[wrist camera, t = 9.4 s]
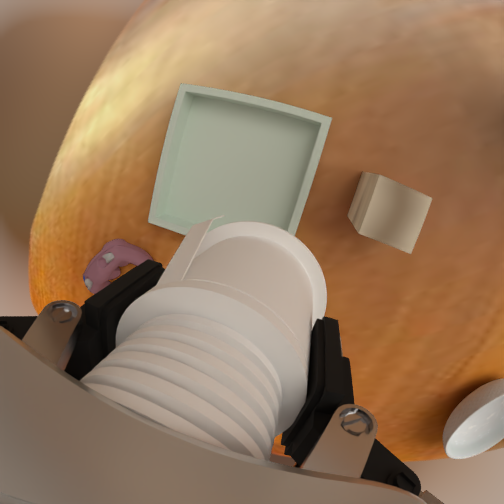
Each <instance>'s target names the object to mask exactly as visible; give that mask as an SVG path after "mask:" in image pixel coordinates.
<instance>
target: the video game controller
mask: <svg viewBox="0 0 504 504" xmlns="http://www.w3.org/2000/svg"><path fill="white" fill-rule="evenodd" d="M147 259H150V260H153V259H152V257H151V256H150V255H149V254H148V253H147V252H146V251H144V250H143V249H141V248H139V247H137V246H135V245H132V244H129V243H127V242H126V241H125V240H123V239H114V240H112V241H110V242H108V243H106V244H105V245H104V246H103V248H102V250H101V251H100V252H99V253H98V254H97V255H96V256H95V257H94V258H93V259H92V260H91V262H90V263H89V264H88V266H87V268H86V270H85V273H84V274H83V279H84V282H85V285H86V287H87V288H88V290H90V292H92V293H94V294H96V293H97V292H99V291H100V290H102V289H103V288H105V287H106V286H108V285H109V284H111V283H110V282H109V281H108V280H111V279H114V278H117V277H118V276H119V275H120V273H121V272H120V269H119V267H118V266H126V265H128V264H129V263H131V264H134V265H137V266H138V265H140V264H141V263H143V262H144V261H146V260H147ZM153 261H154V260H153Z"/></svg>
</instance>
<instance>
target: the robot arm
mask: <svg viewBox="0 0 504 504" xmlns="http://www.w3.org/2000/svg"><path fill="white" fill-rule="evenodd" d="M164 271H165V269H164V268H162V264H161V263H158V262H156V261H153V260H150V259H147V260H146V261H144V262H143V263H141V264H140V265H138V266H136V267H135V268H133V269H132V270H130V271H129V272H127V273H126V274H124V275H123V276H121V277H120V278H118V279H117V280H115V281H114V282H112V283H111V284H109V285H108V286H106V287H105V288H103V289H102V290H100V291H99V292H97V293H96V294H94V295H93V296H91V297H90V298H89V299H87V300H86V301H85V304H84V305H83V306H81V307H79V306H78V305H77V304H75V303H73V302H70V301H65V300H60V301H54V302H51V303H49V304H48V305H46V306H45V307H44V309H43V310H42V311H41V313H40V314H39V316H24V317H22V316H20V317H19V316H17V317H16V316H14V317H11V316H10V317H8V316H5V317H4V316H2V317H0V504H444V503H443V502H441V501H440V500H439V499H437V498H436V497H435V496H433V495H432V494H431V493H429V492H428V491H427V490H426V491H424V492H422V491H421V484H420V481H419V478H418V477H417V475H416V474H415V473H414V472H413V471H412V470H411V469H409V468H408V467H407V466H406V465H405V464H404V463H403V462H401V461H400V460H399V459H398V458H397V457H396V456H394V455H393V454H392V453H391V452H390V451H389V450H388V449H387V448H385V447H384V446H383V445H382V444H381V443H380V442H379V441H378V440H376V439H375V436H376V433H377V428H378V425H377V421H376V419H375V417H374V416H373V414H371V413H370V412H369V411H368V410H367V409H365V408H363V407H361V406H358V405H355V404H354V396H353V386H352V377H351V368H350V361H349V358H347V357H343V356H342V351H341V342H340V333H339V324H338V320H335V319H332V318H328V317H325V316H324V317H323V318H322V320H321V319H318V318H317V320H316V322H315V324H314V326H313V329H312V333H311V348H310V361H309V373H308V385H307V395H306V401H305V403H304V405H303V407H302V409H301V410H300V412H299V414H298V416H297V417H296V419H295V421H294V422H293V424H292V425H291V426H290V427H289V428H288V429H287V430H285V431H284V432H283V434H282V439H281V445H284V446H286V447H285V453H284V454H285V455H289V456H291V457H292V458H293V459H294V460H295V462H296V463H295V465H294V466H293V467H292V466H287V465H282V464H278V463H274V462H270V461H266V460H262V459H258V458H254V457H251V456H247V455H243V454H240V453H237V452H233V451H230V450H227V449H224V448H221V447H218V446H215V445H212V444H209V443H206V442H204V441H201V440H198V439H195V438H193V437H190V436H188V435H185V434H183V433H180V432H177V431H174V430H172V429H170V428H167V427H165V426H163V425H161V424H158V423H156V422H154V421H152V420H150V419H148V418H146V417H144V416H141V415H139V414H137V413H135V412H133V411H131V410H130V409H128V408H126V407H124V406H122V405H120V404H118V403H116V402H114V401H113V400H111V399H109V398H107V397H105V396H104V395H102V394H100V393H98V392H97V391H95V390H93V389H91V388H90V387H88V386H86V385H85V384H83V383H82V382H80V380H81V379H82V378H83V377H84V376H85V375H87V374H88V373H89V372H91V371H92V370H93V369H94V367H95V366H96V365H98V364H99V363H100V362H101V361H102V360H103V359H105V358H106V357H107V356H108V355H109V354H110V353H111V352H112V351H113V350H114V349H115V348H116V331H117V327H118V324H119V321H120V319H121V317H122V315H123V313H124V312H125V310H126V309H127V308H128V307H129V306H130V304H132V303H133V302H134V301H135V300H136V299H138V298H139V297H141V296H142V295H143V294H145V293H146V292H148V291H149V290H150V289H152V288H153V287H155V286H156V285H157V283H158V281H159V279H160V278H161V276H162V274H163V273H164Z"/></svg>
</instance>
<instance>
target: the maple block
mask: <svg viewBox="0 0 504 504" xmlns="http://www.w3.org/2000/svg"><path fill="white" fill-rule="evenodd" d="M431 201H432V198H431V197H429V196H427V195H424V194H422V193H420V192H418V191H416V190H414V189H412V188H409V187H407V186H405V185H403V184H401V183H398V182H396V181H394V180H391V179H389V178H387V177H384V176H382V175H379V174H374V173H368V172H363V171H362V174H361V177H360V180H359V183H358V186H357V189H356V192H355V195H354V198H353V201H352V203H351V206H350V209H349V212H348V215H347V216H348V218H349V219H350V221H351V222H352V224H353V226H354V227H355V229H356V230H357V232H358V234H361V235H364V236H366V237H369V238H371V239H374V240H377V241H379V242H382V243H384V244H387V245H389V246H392V247H394V248H397V249H399V250H402V251H404V252H407V253H409V254H411V252H412V250H413V248H414V245H415V243H416V240H417V238H418V235H419V233H420V230H421V228H422V225H423V223H424V220H425V217H426V215H427V212H428V209H429V206H430V204H431Z"/></svg>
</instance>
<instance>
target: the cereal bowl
mask: <svg viewBox="0 0 504 504" xmlns="http://www.w3.org/2000/svg"><path fill="white" fill-rule="evenodd" d="M503 438H504V378H503V379H502V378H501V379H497V380H494V381H491V382H489V383H486V384H484V385H482V386H480V387H479V388H477V389H476V390H475V391H473V392H472V393H471V394H469V395H468V396H467V397H465V399H463V400H462V401H461V402H460V403H459V404H458V406H457V407H456V408H455V409H454V411H453V412H452V413H451V415H450V417H449V418H448V420H447V422H446V425H445V427H444V431H443V445H444V449H445V452H446V454H447V456H449V457H450V458H453V459H464V458H469V457H472V456H475V455H477V454H480V453H482V452H484V451H486V450H488V449H489V448H491V447H492V446H494V445H495V444H497V443H498V442H499V441H501V440H502V439H503Z"/></svg>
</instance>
